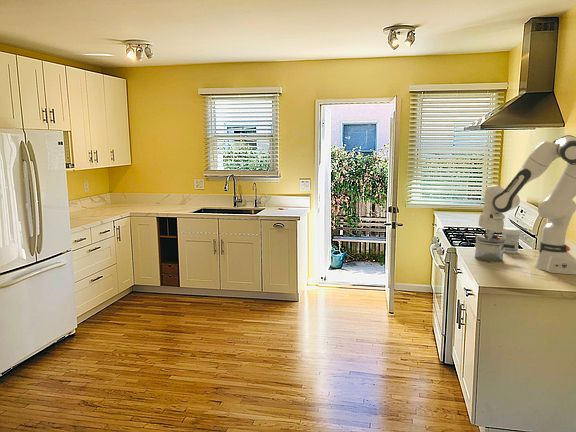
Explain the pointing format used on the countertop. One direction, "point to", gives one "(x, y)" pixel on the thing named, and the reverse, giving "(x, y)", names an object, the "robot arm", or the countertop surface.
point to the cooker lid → (494, 238)
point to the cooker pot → (491, 251)
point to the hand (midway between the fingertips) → (489, 237)
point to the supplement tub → (511, 238)
